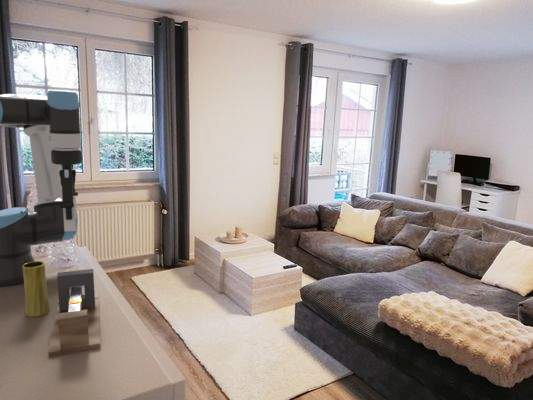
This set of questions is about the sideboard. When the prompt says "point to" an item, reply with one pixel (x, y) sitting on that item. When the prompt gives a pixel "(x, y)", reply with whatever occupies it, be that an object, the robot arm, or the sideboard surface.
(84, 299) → the collar
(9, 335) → the sideboard surface
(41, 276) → the vase
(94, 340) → the wooden stand
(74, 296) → the light grey bar
